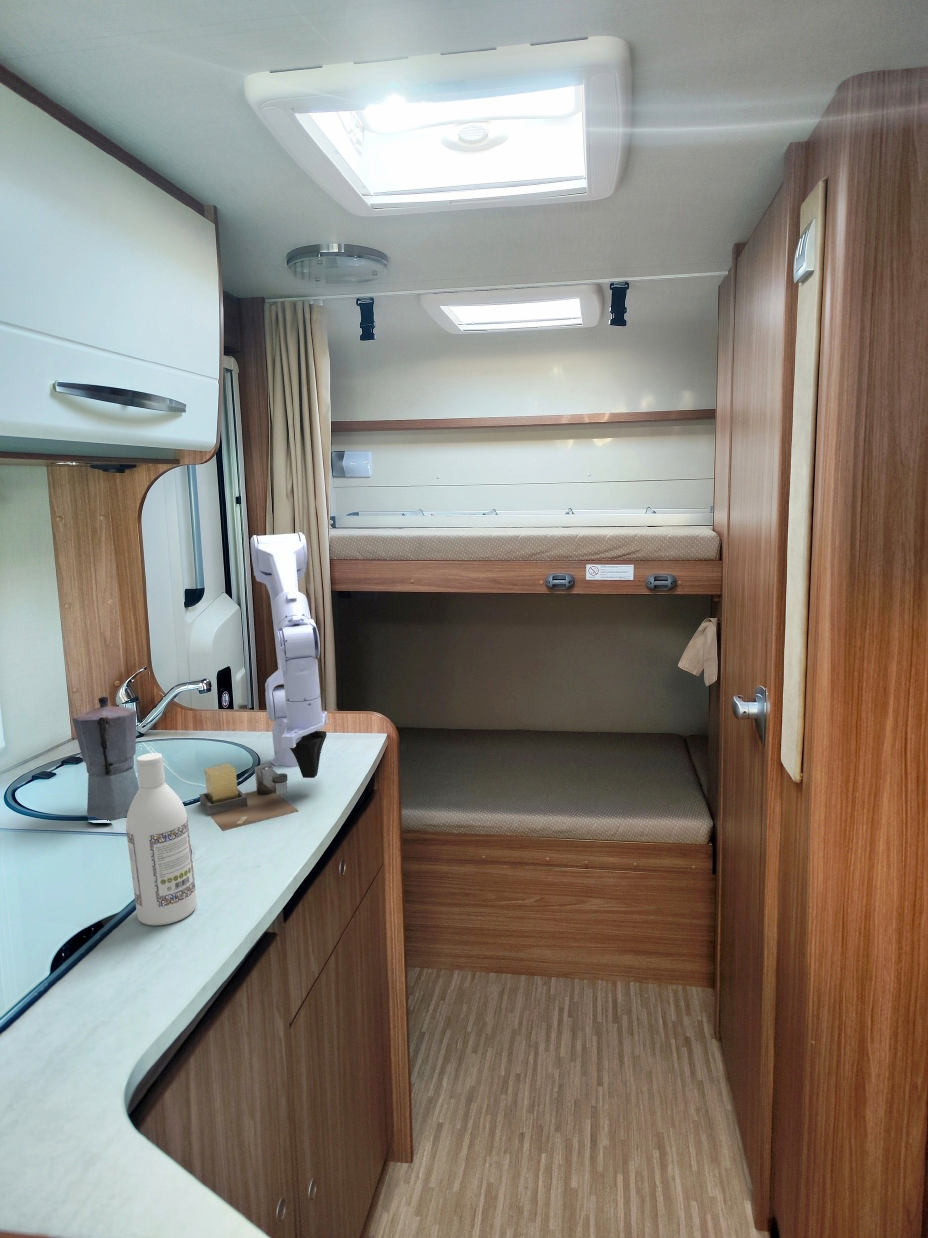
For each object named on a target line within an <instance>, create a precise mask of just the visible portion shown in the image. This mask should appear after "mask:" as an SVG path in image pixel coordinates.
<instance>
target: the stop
mask: <svg viewBox="0 0 928 1238" xmlns="http://www.w3.org/2000/svg"><path fill="white" fill-rule="evenodd" d="M236 772H237V770H236V769H235V767H233V766H232V765H231V764H230V763H225V764H221V765H215V766H212V767H206V768H204V776H205V787H206V788H205V789H206V793H207V797H208V801H209V802H210V803H211V804H215V803H219V802H224V801H228V800H232V799H236V798H238V789H239V788H238V780H237V773H236ZM237 788H238V789H237Z"/></svg>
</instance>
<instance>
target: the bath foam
mask: <svg viewBox="0 0 928 1238" xmlns="http://www.w3.org/2000/svg"><path fill="white" fill-rule="evenodd" d="M136 767H137V768H136V769H137V776H138V777H137V779H138V786H139V790H138V791H137V793H136V795H135V797H134V799H133V801H132V803H131V805H130V808H129V810H128V814H127V817H126V820H125V821H126V823H125V824H126V825H125V826H126V827H125V828H126V829H125V830H126V831H125V832H126V839H127V847H128V854H129V861H130V870H131V871H130V872H131V878H132V885H133V894H134V902H135V909H136V916H137V919H138V920H139V922H140V923H142V924H144V925H147V926H165V925H170V924H173V923H176V922H179V921H182V920H183V919H185V918H187V917H188V916H190V915H191V914H192V913H193V912H195V909H196V908H197V904H198V900H197V892H196V881H195V880H196V879H195V872H194V871H195V870H194V864H193V855H192V853H193V852H192V848H191V847H192V846H191V838H190V837H191V836H190V827H189V819H188V815H187V810H186V807H185V805H184V804H183V801H182V799H181V798H180V797H179V795H178V794H177V793H176V792H175V791H174V790H173V789H172V788H171V787H170V786H169V785H168V784H167V783H166V777H165V767H164V757H163V755H162V753H159V752H152V753H144V754H141V755H140V756H138V757H136Z"/></svg>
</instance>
